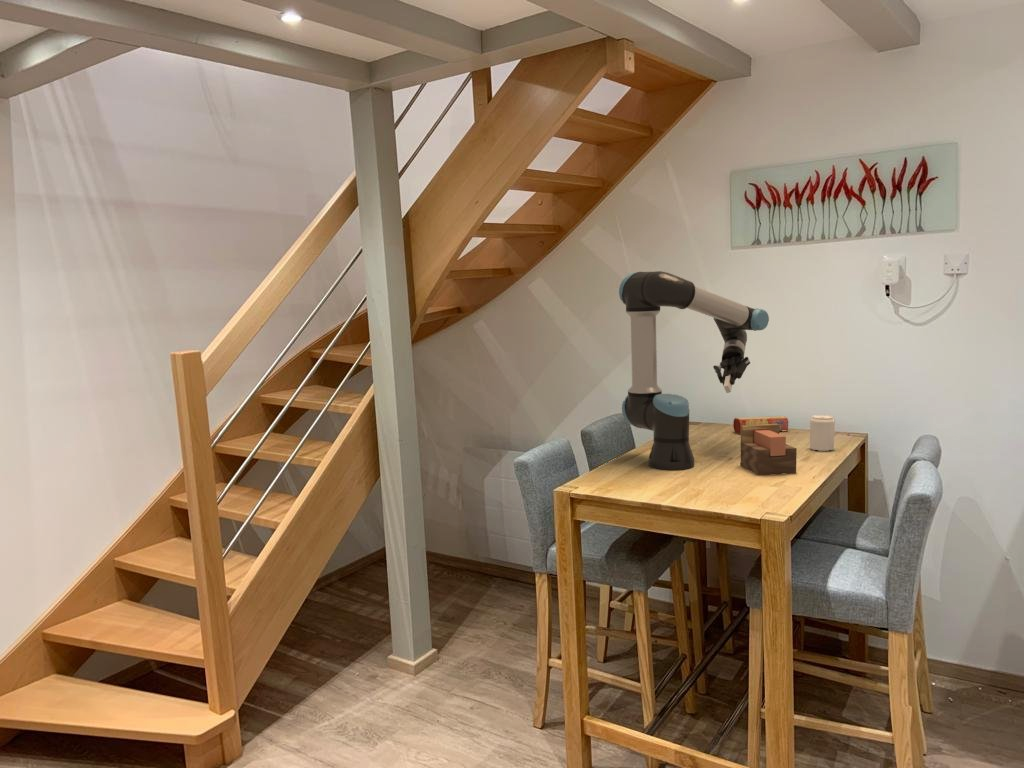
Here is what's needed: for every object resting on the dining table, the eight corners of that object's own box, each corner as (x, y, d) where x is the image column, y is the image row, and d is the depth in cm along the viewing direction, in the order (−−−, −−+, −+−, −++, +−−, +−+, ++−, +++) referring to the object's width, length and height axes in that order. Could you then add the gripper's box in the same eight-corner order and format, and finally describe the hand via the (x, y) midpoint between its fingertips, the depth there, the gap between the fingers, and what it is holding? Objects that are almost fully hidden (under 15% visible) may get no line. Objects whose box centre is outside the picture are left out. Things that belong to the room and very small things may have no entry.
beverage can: (811, 451, 285) (811, 418, 283) (808, 447, 293) (809, 414, 291) (835, 452, 283) (836, 418, 281) (832, 447, 291) (832, 414, 289)
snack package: (781, 429, 328) (781, 413, 327) (789, 432, 322) (789, 415, 321) (732, 432, 325) (732, 416, 324) (739, 435, 318) (739, 418, 317)
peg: (751, 447, 266) (751, 429, 266) (765, 446, 267) (765, 428, 266) (770, 456, 253) (770, 437, 252) (785, 455, 253) (785, 436, 253)
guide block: (740, 465, 267) (740, 425, 265) (775, 463, 268) (776, 423, 267) (758, 475, 253) (759, 433, 251) (796, 473, 255) (796, 431, 253)
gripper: (754, 357, 288) (750, 393, 269) (719, 367, 294) (712, 402, 275) (747, 340, 285) (742, 375, 266) (712, 350, 291) (704, 385, 273)
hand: (727, 389), depth 271 cm, fingers closed
